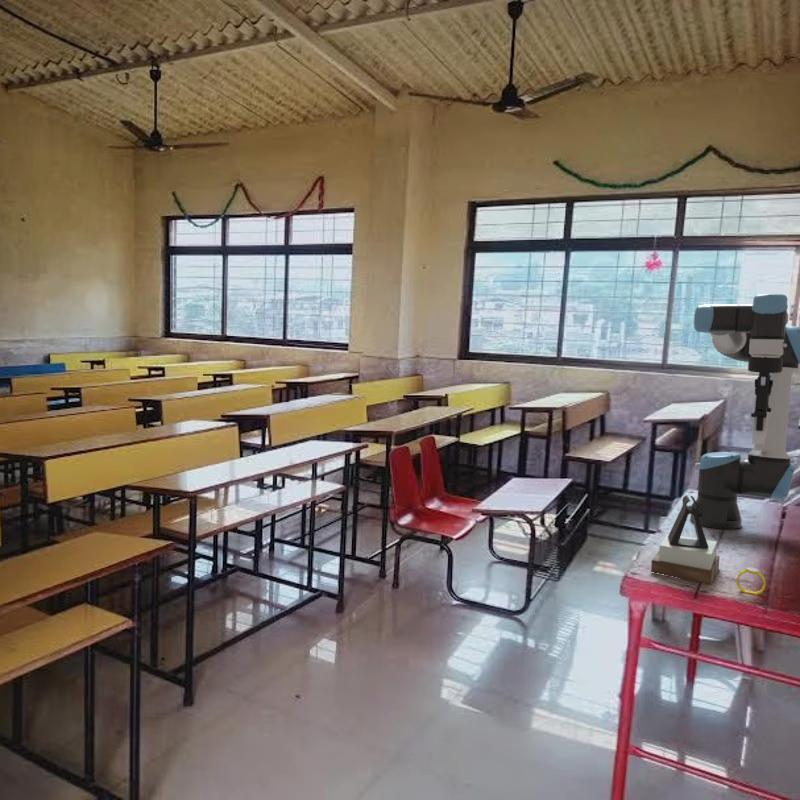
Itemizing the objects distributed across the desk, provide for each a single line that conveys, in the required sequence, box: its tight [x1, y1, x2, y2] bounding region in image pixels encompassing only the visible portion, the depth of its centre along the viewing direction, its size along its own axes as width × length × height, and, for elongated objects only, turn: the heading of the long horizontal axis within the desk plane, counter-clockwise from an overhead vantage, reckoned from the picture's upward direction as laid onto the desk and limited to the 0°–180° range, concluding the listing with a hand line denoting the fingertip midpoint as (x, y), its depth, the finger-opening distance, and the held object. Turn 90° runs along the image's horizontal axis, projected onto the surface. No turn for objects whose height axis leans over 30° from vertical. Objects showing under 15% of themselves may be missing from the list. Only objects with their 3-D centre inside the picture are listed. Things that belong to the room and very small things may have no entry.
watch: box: [736, 566, 766, 596], centre depth 155 cm, size 6×3×6 cm, turn 61°
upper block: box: [658, 533, 717, 570], centre depth 169 cm, size 12×12×4 cm
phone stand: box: [668, 494, 708, 549], centre depth 168 cm, size 9×6×12 cm, turn 72°
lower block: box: [650, 549, 720, 586], centre depth 170 cm, size 14×14×4 cm
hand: (759, 440), depth 166 cm, fingers open, 13 cm apart
